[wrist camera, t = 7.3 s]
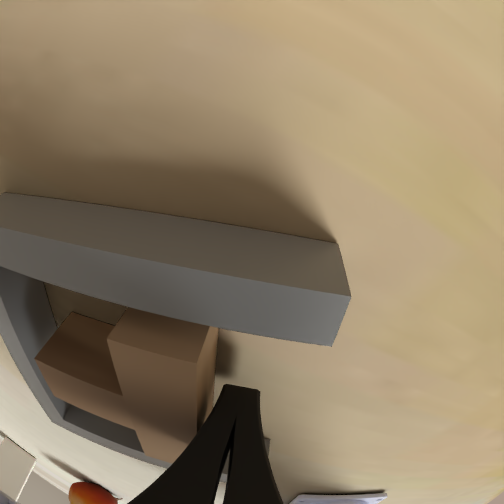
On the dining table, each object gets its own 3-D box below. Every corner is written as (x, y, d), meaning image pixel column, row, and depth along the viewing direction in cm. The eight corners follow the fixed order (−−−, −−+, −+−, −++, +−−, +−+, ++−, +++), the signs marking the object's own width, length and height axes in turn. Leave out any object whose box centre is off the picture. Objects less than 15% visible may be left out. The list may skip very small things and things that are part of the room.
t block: (211, 419, 14) (198, 470, 11) (96, 384, 14) (72, 425, 11) (221, 293, 10) (196, 363, 7) (59, 256, 10) (10, 300, 7)
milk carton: (36, 458, 34) (2, 531, 17) (36, 462, 37) (5, 527, 20) (5, 435, 33) (-32, 505, 16) (8, 441, 36) (-26, 504, 19)
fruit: (109, 504, 33) (78, 525, 26) (87, 468, 34) (53, 487, 27) (140, 513, 30) (108, 539, 23) (116, 475, 32) (79, 498, 24)
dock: (265, 450, 15) (260, 487, 12) (69, 393, 15) (52, 421, 13) (338, 243, 8) (351, 296, 6) (4, 192, 9) (-40, 217, 7)
